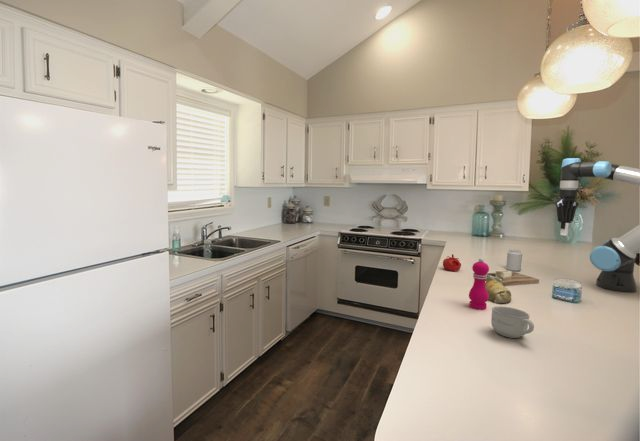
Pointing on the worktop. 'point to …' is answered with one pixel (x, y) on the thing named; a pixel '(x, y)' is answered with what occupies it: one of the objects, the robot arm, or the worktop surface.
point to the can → (514, 260)
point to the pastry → (497, 292)
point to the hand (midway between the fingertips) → (563, 235)
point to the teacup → (511, 321)
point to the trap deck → (513, 279)
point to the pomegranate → (451, 264)
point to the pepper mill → (479, 286)
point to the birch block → (503, 275)
